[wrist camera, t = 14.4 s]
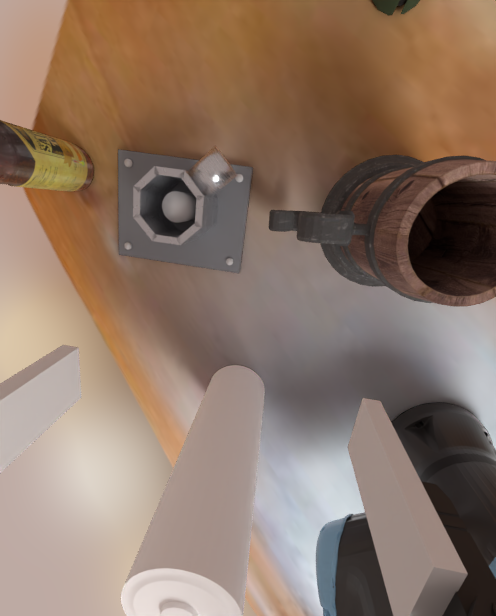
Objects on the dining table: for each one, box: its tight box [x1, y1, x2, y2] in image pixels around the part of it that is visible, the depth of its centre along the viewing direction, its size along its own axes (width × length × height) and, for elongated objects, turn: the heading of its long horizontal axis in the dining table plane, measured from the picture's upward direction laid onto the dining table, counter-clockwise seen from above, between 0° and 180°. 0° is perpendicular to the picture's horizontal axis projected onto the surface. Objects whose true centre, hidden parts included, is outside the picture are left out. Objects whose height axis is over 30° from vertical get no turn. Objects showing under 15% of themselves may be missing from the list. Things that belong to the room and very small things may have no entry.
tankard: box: [269, 155, 496, 306], centre depth 31 cm, size 24×17×20 cm
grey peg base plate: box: [118, 149, 253, 273], centre depth 40 cm, size 18×14×6 cm
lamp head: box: [133, 146, 237, 245], centre depth 37 cm, size 12×8×8 cm, turn 127°
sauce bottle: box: [0, 120, 94, 191], centre depth 33 cm, size 6×6×20 cm
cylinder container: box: [121, 365, 265, 616], centre depth 37 cm, size 9×9×30 cm
